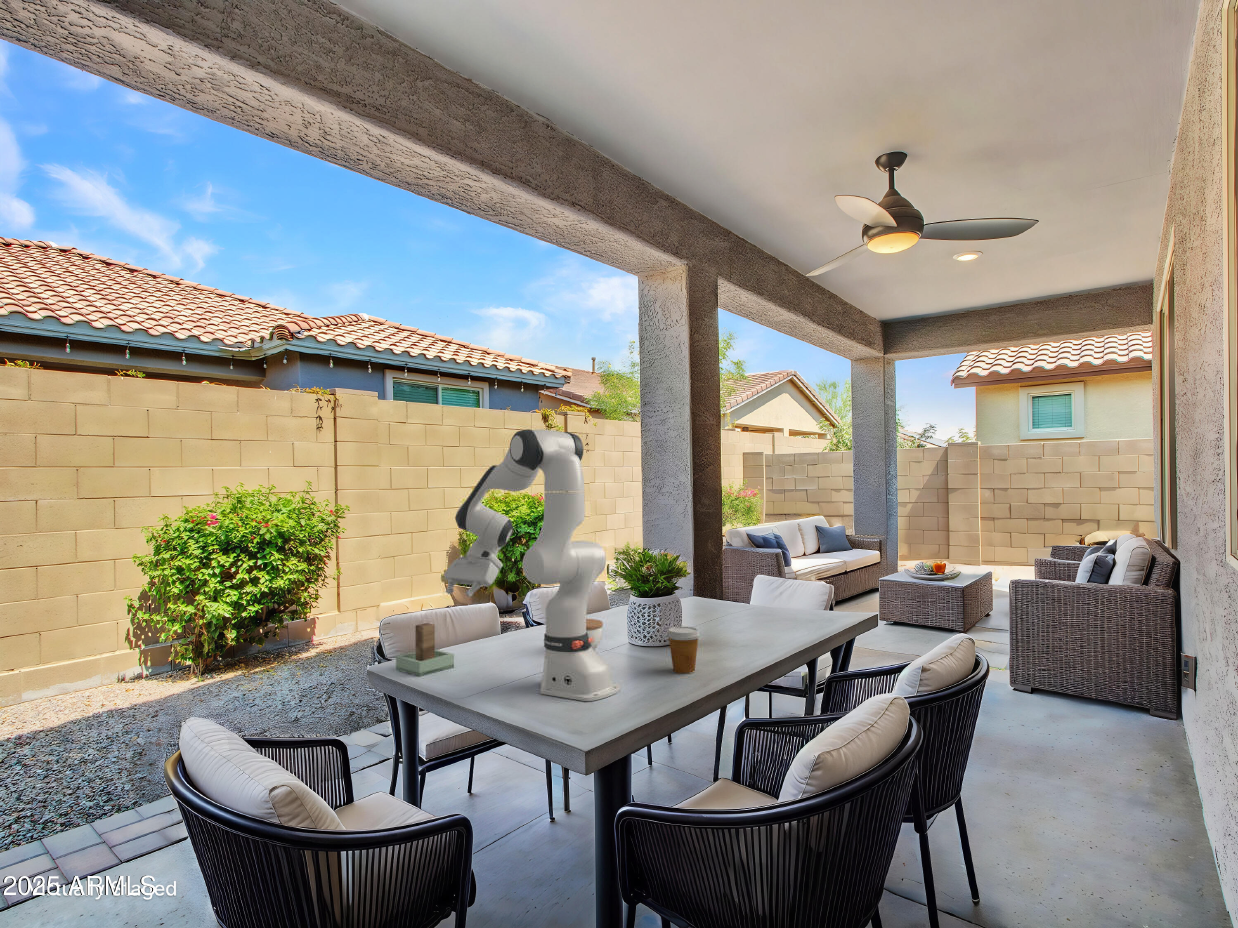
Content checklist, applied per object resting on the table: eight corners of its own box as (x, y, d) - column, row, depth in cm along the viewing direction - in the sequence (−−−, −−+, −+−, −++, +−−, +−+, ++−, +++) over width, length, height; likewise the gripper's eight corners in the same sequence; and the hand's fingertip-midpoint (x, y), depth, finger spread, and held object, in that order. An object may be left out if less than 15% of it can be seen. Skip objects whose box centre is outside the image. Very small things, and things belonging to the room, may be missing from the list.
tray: (453, 667, 197) (453, 653, 197) (419, 676, 187) (419, 662, 187) (430, 660, 204) (430, 648, 204) (396, 669, 195) (396, 656, 195)
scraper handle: (436, 665, 195) (436, 625, 196) (425, 668, 192) (425, 627, 193) (424, 662, 199) (424, 622, 199) (413, 664, 196) (413, 624, 196)
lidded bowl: (586, 656, 207) (585, 621, 207) (557, 651, 215) (556, 617, 215) (610, 648, 217) (610, 615, 217) (581, 643, 225) (581, 611, 225)
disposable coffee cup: (702, 667, 194) (701, 626, 194) (697, 676, 184) (697, 633, 185) (671, 665, 196) (670, 625, 196) (664, 674, 187) (664, 632, 187)
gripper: (453, 551, 217) (430, 586, 209) (495, 553, 205) (473, 591, 197) (464, 561, 220) (443, 596, 213) (506, 565, 208) (485, 602, 201)
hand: (457, 594), depth 205 cm, fingers open, 8 cm apart
